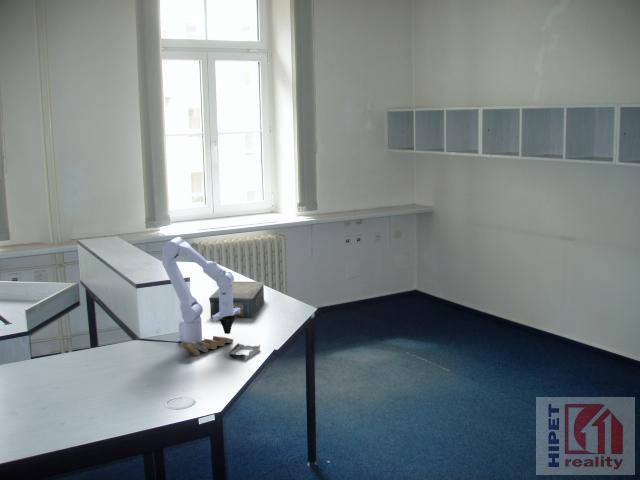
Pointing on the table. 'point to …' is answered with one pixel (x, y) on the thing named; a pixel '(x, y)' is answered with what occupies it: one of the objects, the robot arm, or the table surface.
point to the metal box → (242, 298)
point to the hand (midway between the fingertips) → (227, 333)
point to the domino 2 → (199, 347)
